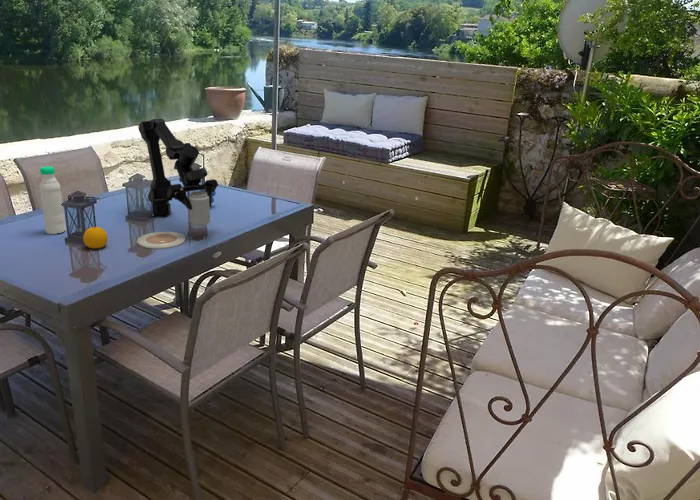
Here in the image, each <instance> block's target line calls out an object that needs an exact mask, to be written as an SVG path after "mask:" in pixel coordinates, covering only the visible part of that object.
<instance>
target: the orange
mask: <svg viewBox="0 0 700 500" xmlns="http://www.w3.org/2000/svg"><path fill="white" fill-rule="evenodd" d="M82 238H83V243H84V245H85V246H86V247H88V248H90V249H95V250H97V249H102V248H103V247H104V246H105V245H107V243H108V238H109V236H108V233H107V232H106V230H104V229H103V228H102V227H99V226H91V227H89V228H88V229H86V230H85V232H84V233H83V237H82Z"/></svg>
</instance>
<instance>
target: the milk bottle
mask: <svg viewBox="0 0 700 500" xmlns="http://www.w3.org/2000/svg"><path fill="white" fill-rule="evenodd" d="M39 172H40V175H41V176H42V177H41V180H40V183H39V185H38V189H39V192H40V202H41V207H42V213H43V221H44V230H45V233H46V234H48V235H58V234H57V233H61V232H64V231H65V232H66V231H67V225H66V222H65V220H66V217H65V213H64V205H63V206H62V205H61V204H62V203H63V195H62V192H61V184H60V183H59V181H58V180H57V177H55V173H56V170H55V167H54V166H42V167H40V169H39ZM65 232H64V233H65ZM61 234H62V233H61Z"/></svg>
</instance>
